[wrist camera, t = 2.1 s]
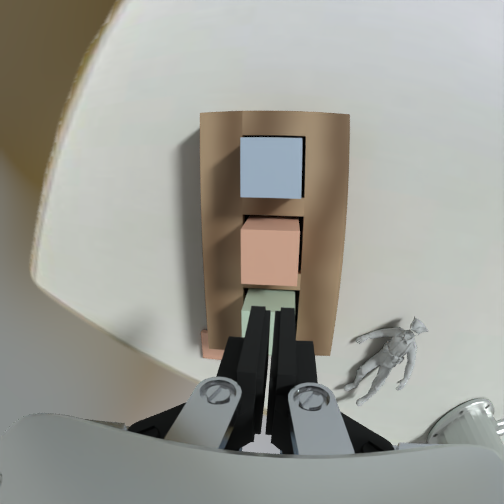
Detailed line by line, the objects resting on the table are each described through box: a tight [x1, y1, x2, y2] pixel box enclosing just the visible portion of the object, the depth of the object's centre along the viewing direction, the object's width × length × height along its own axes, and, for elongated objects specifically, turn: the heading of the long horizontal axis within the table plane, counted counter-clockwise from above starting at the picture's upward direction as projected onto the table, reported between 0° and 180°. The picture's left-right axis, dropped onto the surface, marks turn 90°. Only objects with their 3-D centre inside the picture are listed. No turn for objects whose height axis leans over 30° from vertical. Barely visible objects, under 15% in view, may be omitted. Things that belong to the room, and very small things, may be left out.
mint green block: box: [241, 288, 295, 355], centre depth 27 cm, size 4×4×6 cm
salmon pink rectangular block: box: [241, 215, 300, 286], centre depth 25 cm, size 4×4×6 cm
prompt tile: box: [201, 330, 224, 360], centre depth 34 cm, size 4×4×1 cm
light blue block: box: [240, 137, 302, 199], centre depth 23 cm, size 4×4×6 cm
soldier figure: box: [344, 316, 428, 406], centre depth 31 cm, size 8×5×12 cm
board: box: [200, 111, 350, 356], centre depth 28 cm, size 12×22×4 cm, turn 0°
